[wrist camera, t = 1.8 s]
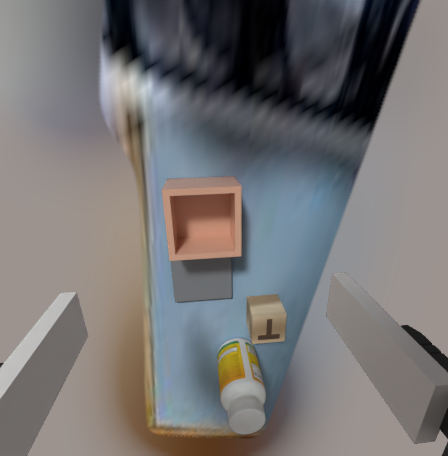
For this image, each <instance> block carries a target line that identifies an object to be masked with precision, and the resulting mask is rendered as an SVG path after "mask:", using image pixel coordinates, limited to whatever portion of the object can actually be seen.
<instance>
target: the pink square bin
mask: <svg viewBox="0 0 448 456" xmlns="http://www.w3.org/2000/svg"><path fill="white" fill-rule="evenodd" d="M162 195H163V204H164V213H165V222H166V232H167V241H168V250H169V259H170V261H177V260H192V259H207V258H222V257H238V256H241V185H240V184H239V182H238V181H237V180H236V178H235V177H234V176H227V177H202V178H178V179H167V181H166V183H165V185H164V187H163V189H162Z"/></svg>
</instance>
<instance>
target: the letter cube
mask: <svg viewBox="0 0 448 456" xmlns="http://www.w3.org/2000/svg"><path fill="white" fill-rule="evenodd" d="M286 317H287V314H286V312H285V310H284V307H283V305H282V303H281V301H280V299H279V297H278V295H277V294H275V295H262V296H249V297H247V319H246V322H247V326H248V330H249V334H250V338H251V342H252V344H259V343H270V342H281V341H285V330H286Z"/></svg>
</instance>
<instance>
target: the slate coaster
mask: <svg viewBox="0 0 448 456" xmlns="http://www.w3.org/2000/svg"><path fill="white" fill-rule="evenodd" d="M171 268H172V277H173V287H174V296H175V302H184V301H196V300H209V299H222V298H232V275H231V257H222V258H207V259H192V260H177V261H171Z"/></svg>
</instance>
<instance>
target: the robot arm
mask: <svg viewBox="0 0 448 456" xmlns="http://www.w3.org/2000/svg"><path fill="white" fill-rule="evenodd" d="M326 315H327V317H328V319H329V320H330V322H331V323H332V324H333V326H334V327H335V329H336V330H337V332H338V333H339V335H340V336H341V338H342V339H343V341H344V342H345V343H346V345H347V346H348V348H349V349H350V351H351V352H352V354H353V355H354V357H355V358H356V360H357V361H358V362H359V364H360V365H361V367H362V368H363V370H364V371H365V373H366V374H367V376H368V377H369V379H370V380H371V382H372V383H373V384H374V386H375V387H376V389H377V390H378V392H379V393H380V395H381V396H382V398H383V399H384V401H385V402H386V404H387V405H388V406H389V408H390V409H391V411H392V412H393V414H394V415H395V417H396V418H397V420H398V421H399V423H400V424H401V425H402V427H403V428H404V430H405V431H406V433H407V434H408V436H409V437H410V439H411V440H412V442H413V443H414V444H418V443H426V442H433V441H435V440H436V438H437V435H438V433H439V430H441V431H442V432H443V433H444V435H445V436H446V437H447V439H448V358H447V357H446V356H445V355H444V354H442V353H441V351H440V350H439V349H438V348H437V347H435V346H434V345H432V343H431V342H430V341H429V340H428V339H427V338H426V337H425V336H424V335H422V334H421V333H420V332H418V331H417V330H415V329H413V328H411V327H409V326H408V325H403V326H400V325H399V324H398V323H397V322H396V321H395V320H394V319H393V318H392V317H391V316H390V315H389V314H388V313H387V312H386V311H385V310H384V309H383V308H382V307H380V305H378V303H377V302H375V301H374V300H373V299H372V298H371V297H370V296H369V295H368V294H367V293H366V292H365V291H364V290H363V289H362V288H361V287H360V286H359V285H358V284H357V283H356V282H355V281H354V280H353V279H352V278H351V277H350V276H349V275H348V274H347V273H345V272H344V273H332V279H331V285H330V292H329V300H328V307H327V314H326ZM87 337H88V333H87V329H86V326H85V322H84V318H83V314H82V310H81V307H80V303H79V299H78V295H77V292H70V293H60V294H59V296H58V297H57V298H56V300H55V301H54V302H53V303H52V304H51V306H50V307H49V308H48V309H47V311H46V312H45V313H44V314H43V316H42V317H41V318H40V319H39V321H38V322H37V323H36V324H35V326H34V327H33V328H32V329H31V330H30V332H29V333H28V334H27V335H26V337H25V338H24V339H23V340H22V342H21V343H20V344H19V346H18V347H17V348H16V349H15V350H14V352H13V353H12V354H11V355H10V357H9V358H8V359H7V360H6V362H5V363H0V456H27V455H28V453H29V451H30V449H31V447H32V445H33V443H34V441H35V439H36V437H37V435H38V433H39V431H40V429H41V427H42V425H43V423H44V421H45V419H46V417H47V415H48V414H49V411H50V409H51V408H52V406H53V404H54V402H55V400H56V398H57V396H58V394H59V392H60V390H61V388H62V386H63V384H64V382H65V380H66V378H67V376H68V374H69V372H70V370H71V369H72V367H73V365H74V363H75V361H76V359H77V357H78V355H79V353H80V351H81V349H82V347H83V345H84V343H85V341H86V339H87ZM442 456H448V443H447V445H446V447H445V450H444V452H443V454H442Z"/></svg>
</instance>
